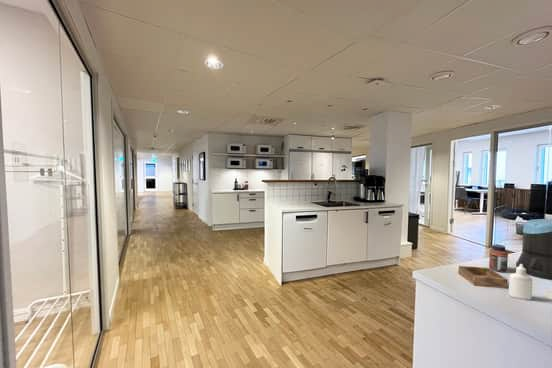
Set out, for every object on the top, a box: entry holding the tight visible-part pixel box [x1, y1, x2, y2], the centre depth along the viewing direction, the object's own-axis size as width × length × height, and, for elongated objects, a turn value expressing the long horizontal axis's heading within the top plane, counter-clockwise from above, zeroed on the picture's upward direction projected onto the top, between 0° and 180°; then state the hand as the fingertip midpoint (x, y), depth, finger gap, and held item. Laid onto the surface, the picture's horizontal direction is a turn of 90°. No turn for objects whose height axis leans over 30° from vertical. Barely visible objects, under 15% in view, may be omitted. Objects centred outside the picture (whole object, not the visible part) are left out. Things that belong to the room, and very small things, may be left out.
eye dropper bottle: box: [508, 264, 533, 301], centre depth 82 cm, size 4×6×12 cm
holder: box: [457, 265, 509, 289], centre depth 95 cm, size 11×11×4 cm
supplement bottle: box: [488, 243, 509, 273], centre depth 105 cm, size 6×6×11 cm
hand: (551, 286), depth 76 cm, fingers open, 13 cm apart
